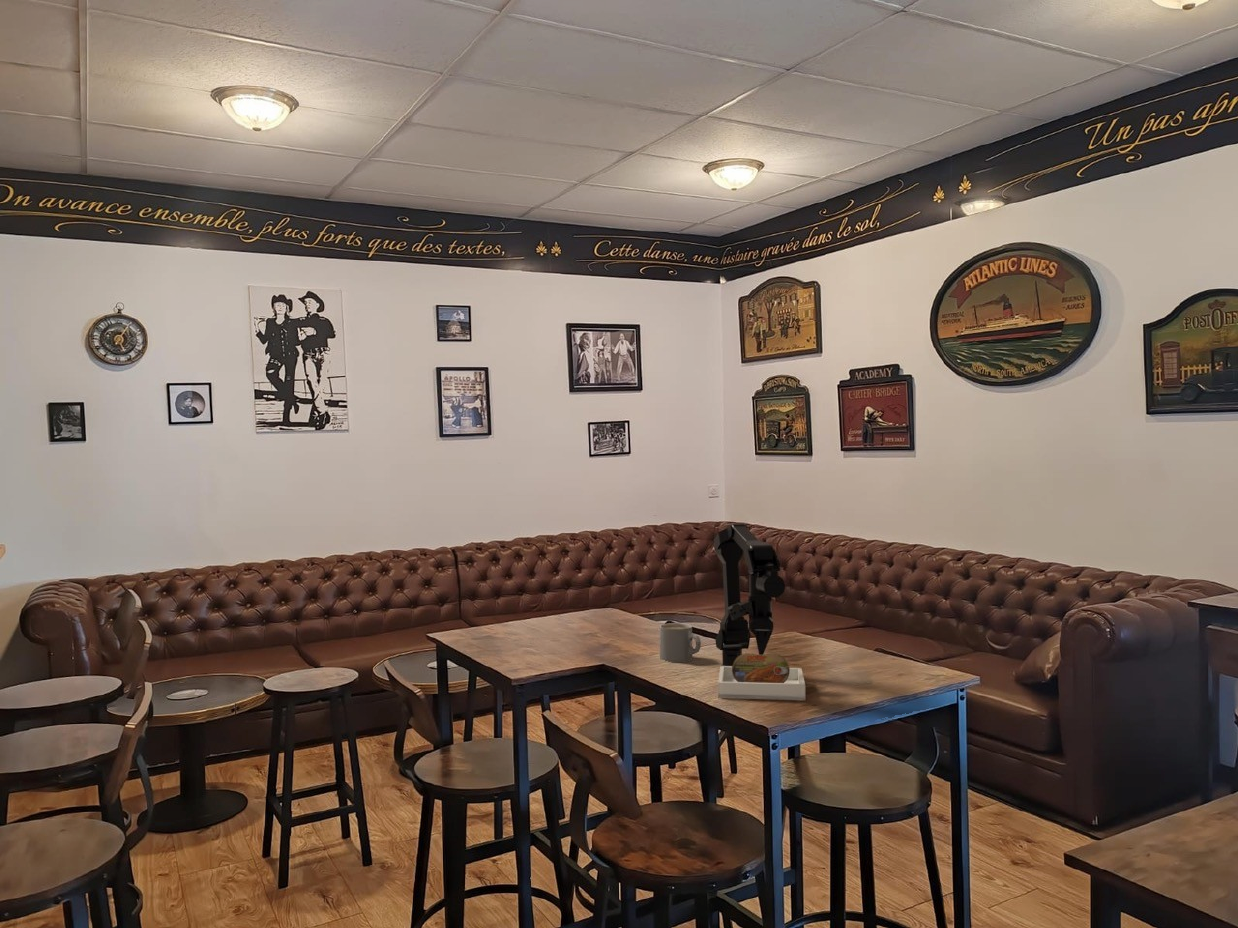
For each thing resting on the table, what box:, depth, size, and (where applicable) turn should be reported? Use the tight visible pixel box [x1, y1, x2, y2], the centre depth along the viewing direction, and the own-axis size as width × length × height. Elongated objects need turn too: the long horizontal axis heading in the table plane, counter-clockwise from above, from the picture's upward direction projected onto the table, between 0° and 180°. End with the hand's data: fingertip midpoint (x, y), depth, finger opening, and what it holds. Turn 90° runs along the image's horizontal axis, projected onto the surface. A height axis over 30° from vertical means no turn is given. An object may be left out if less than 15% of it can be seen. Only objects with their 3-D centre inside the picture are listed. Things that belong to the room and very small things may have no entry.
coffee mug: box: [659, 622, 702, 663], centre depth 276 cm, size 13×10×10 cm
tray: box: [717, 665, 806, 701], centre depth 240 cm, size 18×22×4 cm
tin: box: [732, 652, 790, 683], centre depth 240 cm, size 15×3×8 cm, turn 81°
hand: (760, 650), depth 239 cm, fingers open, 9 cm apart
